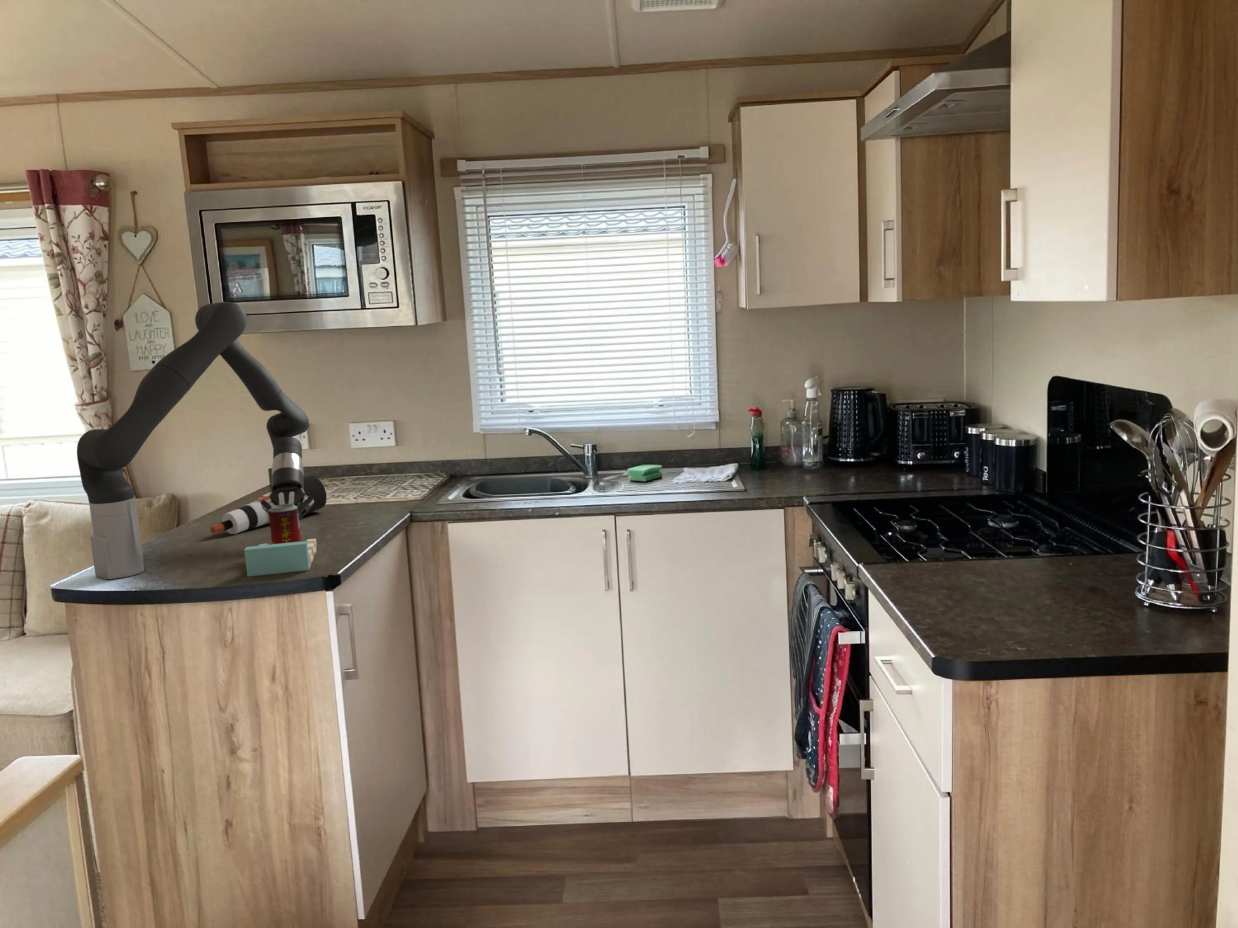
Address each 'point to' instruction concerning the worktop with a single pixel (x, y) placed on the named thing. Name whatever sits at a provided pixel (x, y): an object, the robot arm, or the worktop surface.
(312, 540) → the guide rails
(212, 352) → the robot arm
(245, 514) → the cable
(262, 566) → the block
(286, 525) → the soda can
